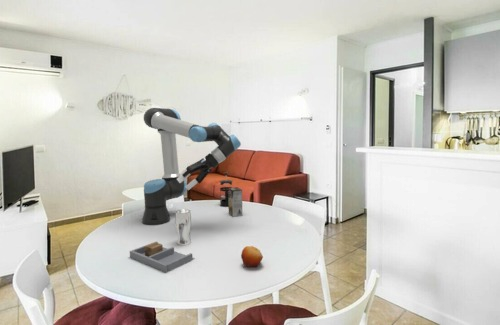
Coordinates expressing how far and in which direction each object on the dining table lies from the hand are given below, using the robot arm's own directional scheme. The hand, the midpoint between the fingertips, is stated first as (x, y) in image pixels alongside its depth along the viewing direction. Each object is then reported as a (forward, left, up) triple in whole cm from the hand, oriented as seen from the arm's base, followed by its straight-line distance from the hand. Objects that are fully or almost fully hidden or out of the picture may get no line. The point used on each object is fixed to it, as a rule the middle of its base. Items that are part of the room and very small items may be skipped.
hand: (182, 185), depth 146 cm
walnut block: (+13, -28, -23) cm, 39 cm away
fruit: (+51, -12, -24) cm, 58 cm away
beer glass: (+13, -12, -24) cm, 30 cm away
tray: (+19, -28, -24) cm, 41 cm away
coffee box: (+3, +37, -24) cm, 44 cm away
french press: (-17, +52, -24) cm, 60 cm away
